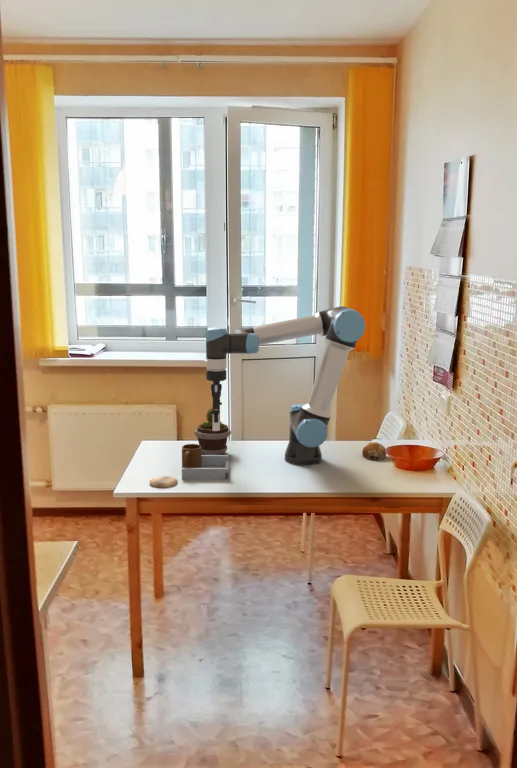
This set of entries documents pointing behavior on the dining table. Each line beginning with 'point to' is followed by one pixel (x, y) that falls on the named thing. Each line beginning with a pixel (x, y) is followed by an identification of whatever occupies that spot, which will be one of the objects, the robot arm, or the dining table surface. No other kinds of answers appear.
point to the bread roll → (374, 451)
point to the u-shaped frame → (209, 472)
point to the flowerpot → (212, 437)
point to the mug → (191, 456)
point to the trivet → (163, 482)
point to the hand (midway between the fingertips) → (216, 426)
